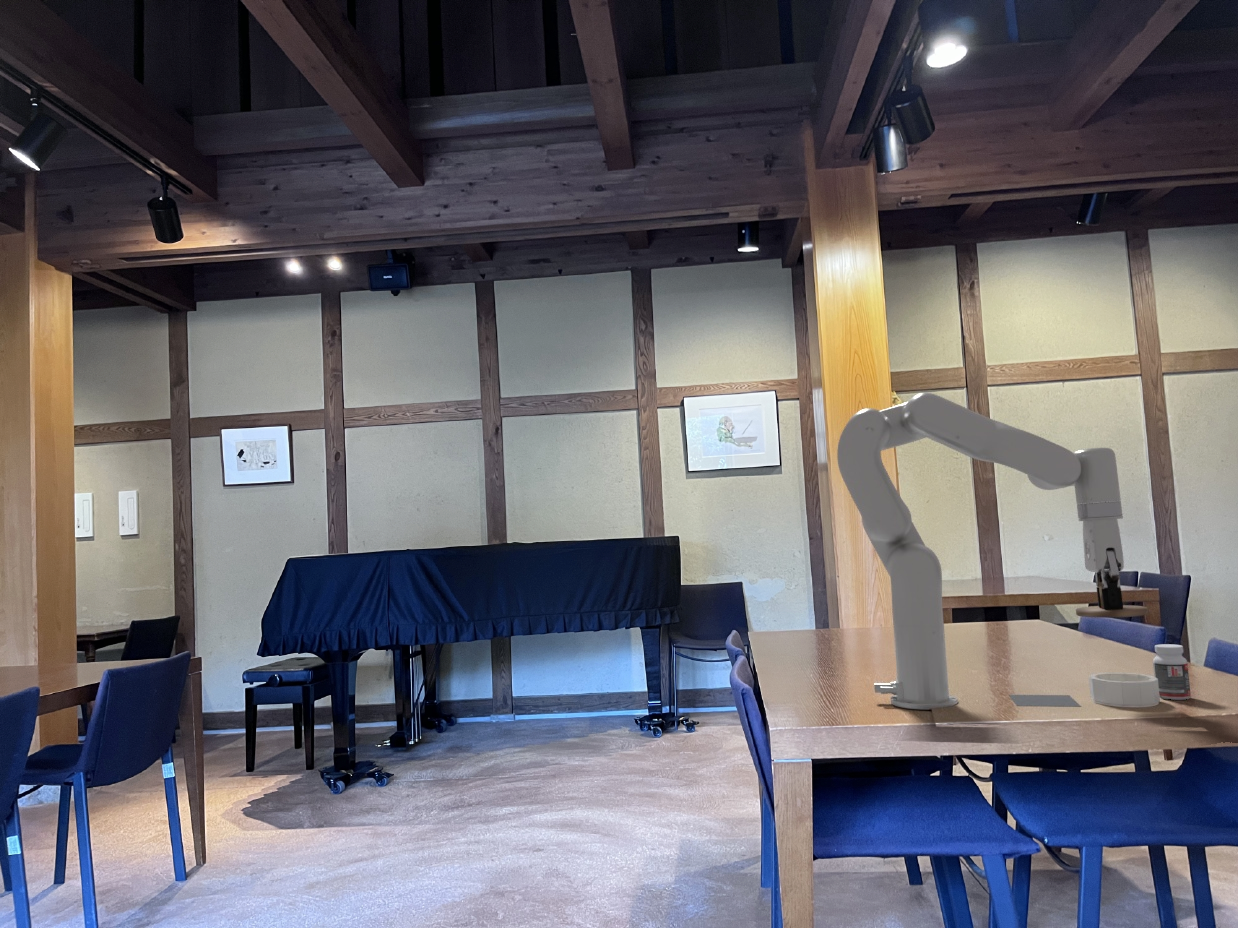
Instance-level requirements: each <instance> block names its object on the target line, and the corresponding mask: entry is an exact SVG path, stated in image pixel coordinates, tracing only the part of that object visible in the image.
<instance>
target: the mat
mask: <svg viewBox="0 0 1238 928" xmlns="http://www.w3.org/2000/svg"><path fill="white" fill-rule="evenodd" d="M1008 696H1009V697H1010V699H1011V700H1012V701H1013V703H1014V704H1015V705H1016V707H1055V708H1056V707H1060V708H1062V707H1063V708H1064V707H1067V708H1068V707H1069V708H1071V707H1072V708H1074V707H1075V708H1076V707H1077V708H1081V707H1082V705H1080V704H1079V703H1078V702H1077V701H1076V700H1075V699H1074V698H1073V697H1072V696H1071V695H1069V694H1008Z"/></svg>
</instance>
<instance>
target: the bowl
mask: <svg viewBox="0 0 1238 928" xmlns="http://www.w3.org/2000/svg"><path fill="white" fill-rule="evenodd" d="M1088 682H1089V683H1088V684H1089V695H1090V696H1089V697H1090V698H1091V701H1092V702H1093V703H1095V704H1099V705H1102V706H1110V707H1119V708H1151V707H1155V706H1157V705H1159V704H1160V701H1161V698H1160V696H1159V685H1158V679H1157V678H1156V677H1154V675H1149V674H1143V673H1134V672H1099V673H1092V674H1090V675H1088Z"/></svg>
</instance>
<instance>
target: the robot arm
mask: <svg viewBox="0 0 1238 928" xmlns="http://www.w3.org/2000/svg"><path fill="white" fill-rule="evenodd" d="M926 438H927V439H930V440H932V441H934V442H936V443H939V444H941V445H943V446H945V447H947V448H949V449H951V450H954V451H956V452H957V453H960V454H962V455H964V456H967V457H969V458H971V459H975V460H978V461H981V462H988V463H994V464H999V465H1002V466H1005V467H1007V468H1011V469H1014V470H1016V471H1019V472H1021V473H1024V474H1025V475H1027V478H1028V480H1029V482H1030V483H1031V484H1032V485H1033V486H1035V487H1036V488H1038V489H1041V490H1045V491H1046V490H1047V491H1052V490H1053V491H1054V490H1059V489H1064V488H1068V487H1074V492H1075V493H1074V494H1075V500H1076V511H1077V519H1078V522H1082V540H1083V541H1082V542H1083V553H1084V555H1083V556H1084V557H1083V558H1084V565H1085V570H1087V571H1088V572H1092V573H1095V584H1096V594H1097V603H1098V604H1097V606H1099V608H1101V599H1100V591H1099V582H1102V583H1103V588H1104V589H1101V590H1102V599H1103V607H1104V609H1105V610H1120V609H1123V605H1124V604H1123V603H1124V602H1123V593H1122V588H1121V580H1120V572H1121V571H1123V569H1124V568H1125V562H1124V561H1125V560H1124V553H1123V546H1122V545H1123V544H1122V538H1121V533H1120V527H1119V522H1118V520H1119V519H1120V520H1121V519H1123V518H1124V517H1123V509H1122V508H1123V507H1122V501H1121V500H1122V499H1121V490H1120V482H1119V473H1118V466H1117V458H1116V453H1115V452H1114V450H1113V449H1112V448H1110V447H1094V448H1093V447H1092V448H1085V449H1084V448H1083V449H1079V450H1076V451H1074V452H1072V451H1071V450H1070V449H1068V448H1065V447H1064V446H1062V445H1059V444H1057V443H1055V442H1053V441H1050V440H1048V439H1046V438H1044V437H1041V436H1039V435H1037V434H1035V433H1031V432H1029V431H1026V430H1024V429H1020V428H1017V427H1015V426H1011V425H1009V424H1006V423H1004V422H1001V421H997V420H995V419H993V418H990V417H988V416H985V415H984V414H981V413H978V412H975V411H973V410H971V409H969V408H968V407H965V406H962V405H960V404H959V403H956V402H954V401H952V400H949V399H947V398H945V397H943V396H940V395H938V394H935V393H931V392H919V393H918V394H916V395H914V396H912V397H911V398H910V399H909V400H908V401H906V402H903V403H901V404H897V405H895V406H892V407H888V408H885V409H882V410H879V409H876V408H870V407H869V408H863V409H861V410H859V411H857V412H856V413H854V415H852V416H851V418H849V420H848V422H847V423H846V424H845V427H844V428H843V430H842V432H841V433H840V437H839V439H838V442H837V443H838V444H837V451H836V452H837V455H836V457H837V465H838V469H839V472H840V475H841V478H842V479H843V482H844V484H845V486H846V489H847V490H848V492H849V494H850V497H851V498H852V499H851V500H852V501H853V503H854V504H855V506H856V508H857V510H858V512H859V515H860V516H861V523H862V527H863V529H864V531H865V533H866V535H867V537H868V539H869V541H870V543H871V544H872V546H873V549H874V550H875V552H876V554H877V556H878V558H879V559H880V561H881V563H882V564H883V566H884V568H885V570H886V572H887V574H888V575H889V577H890V589H891V609H892V624H893V637H894V652H895V667H896V678H895V681H890V683H883V682H879V683H878V682H874V683H873V685H874V687H873V688H874V693H876V694H880V695H885V694H891V695H892V696H891V697H890V704H891V705H893V706H895V707H898V708H902V709H909V710H922V711H923V710H925V711H926V710H927V711H929V710H931V711H932V709H937V708H938V709H939V708H947V707H948V708H949V707H952V706H956V705H957V704H958V703H959V699H958V698H957V696H955V695H951V694H950V691H949V690H950V689H949V678H948V664H947V650H946V637H945V623H944V612H943V611H944V610H943V576H942V575H943V574H942V573H943V572H942V567H941V563H940V560H939V557H938V556H937V554H936V553H935V552H934V551H933V550H932V549H931V548H930V547H928V546H926V543H925V542H924V540H923V539H922V537H921V536H920V533H919V532H918V529H917V528H916V526H915V524H914V522H913V520H912V514H911V513H912V512H911V510H910V509H909V508H908V507H909V506H907V504H906V503H905V501H904V500H903V499H902V497H901V495H900V493H899V491H898V490H897V488H896V487H895V485H894V483H893V481H892V480H891V478H890V475H889V473H888V471H887V469H886V468H885V465H884V463H883V459H882V452H883V451H885V450H886V451H887V450H889V449H893V448H896V447H901V446H903V445H907V444H911V443H914V442H916V441H920V440H922V439H926Z"/></svg>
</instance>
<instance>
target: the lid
mask: <svg viewBox="0 0 1238 928" xmlns="http://www.w3.org/2000/svg"><path fill="white" fill-rule="evenodd" d="M1101 589H1104V588H1103V583H1102V582H1099V591H1100V599H1101V608H1099V605H1094V606H1091V605H1090V606H1083V607H1077V608H1076V609H1075V612H1076V613H1075V615H1076V616H1077V617H1083V618H1084V617H1085V618H1102V619H1103V618H1107V619H1109V618H1129V617H1141V616H1145V615H1146V616H1147V615H1148V614H1149V608H1148V607H1147V606H1142V605H1132V604H1131V605H1130V604H1129V605H1127V604H1126V605H1125V604H1123V609H1120V610H1105V609H1104V607H1103V599H1102V590H1101Z"/></svg>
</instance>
